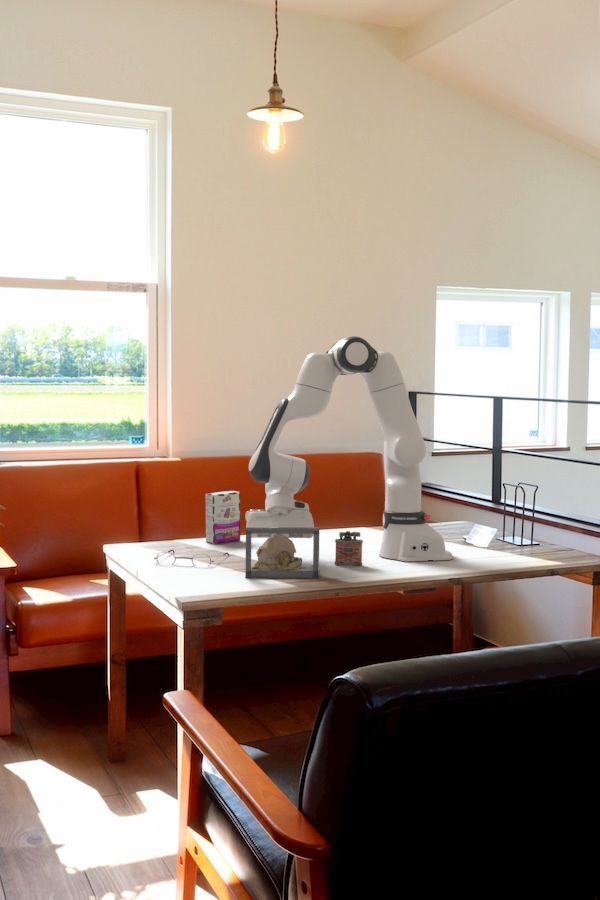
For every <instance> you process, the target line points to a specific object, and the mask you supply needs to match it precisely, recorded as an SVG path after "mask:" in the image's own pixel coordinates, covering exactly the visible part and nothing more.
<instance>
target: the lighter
mask: <svg viewBox="0 0 600 900" xmlns="http://www.w3.org/2000/svg"><path fill="white" fill-rule="evenodd" d="M338 535H339V538H336V539H334V542H335V560H334V565H335V566H340V567H363V542H364V541H363V540H362V539H357V537H359V538H360V537H361V532H360V531H352V532H351V531H350V530H346V531H339V534H338Z"/></svg>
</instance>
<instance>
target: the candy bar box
mask: <svg viewBox="0 0 600 900" xmlns="http://www.w3.org/2000/svg"><path fill="white" fill-rule="evenodd" d="M204 498H205V499H204V500H205V543H209V544H213V545H218V544H224V543H230V542H237V541H239V542H240V541H241V492H240V491H236V490H229V491H228V490H227V491H217V492H216V491H215V492H211V493H207V492H206V493H205V494H204Z"/></svg>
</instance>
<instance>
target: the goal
mask: <svg viewBox="0 0 600 900" xmlns="http://www.w3.org/2000/svg"><path fill="white" fill-rule="evenodd" d="M251 534H314V535H313V536H312V538H313V540H312V541H313V545H312V547H313V548H312V552H313V553H312V555H313V556H312V564H310V569H296V570H255V569H252V568H251V567H252V538H251ZM319 571H320V527H315V526H314V527H246V526H245V577H244V578H245V579H319V577H320V575H319V574H320V572H319Z"/></svg>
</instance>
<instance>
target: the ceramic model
mask: <svg viewBox="0 0 600 900" xmlns="http://www.w3.org/2000/svg"><path fill="white" fill-rule="evenodd" d="M296 553H297V550H296V547H295V544H294V542H293V540H292V539H291V538H288V537H287V536H284V535H283V536H279V534H274V537H269V538H266V540H265V541H264V542H263V543H262V545H260V546H259V547H258V549H257V550H256V557H257V561H256V563H254V565H251V570H300V569H301V567H302V565H303V558H302V557H298V556H295V554H296Z"/></svg>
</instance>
